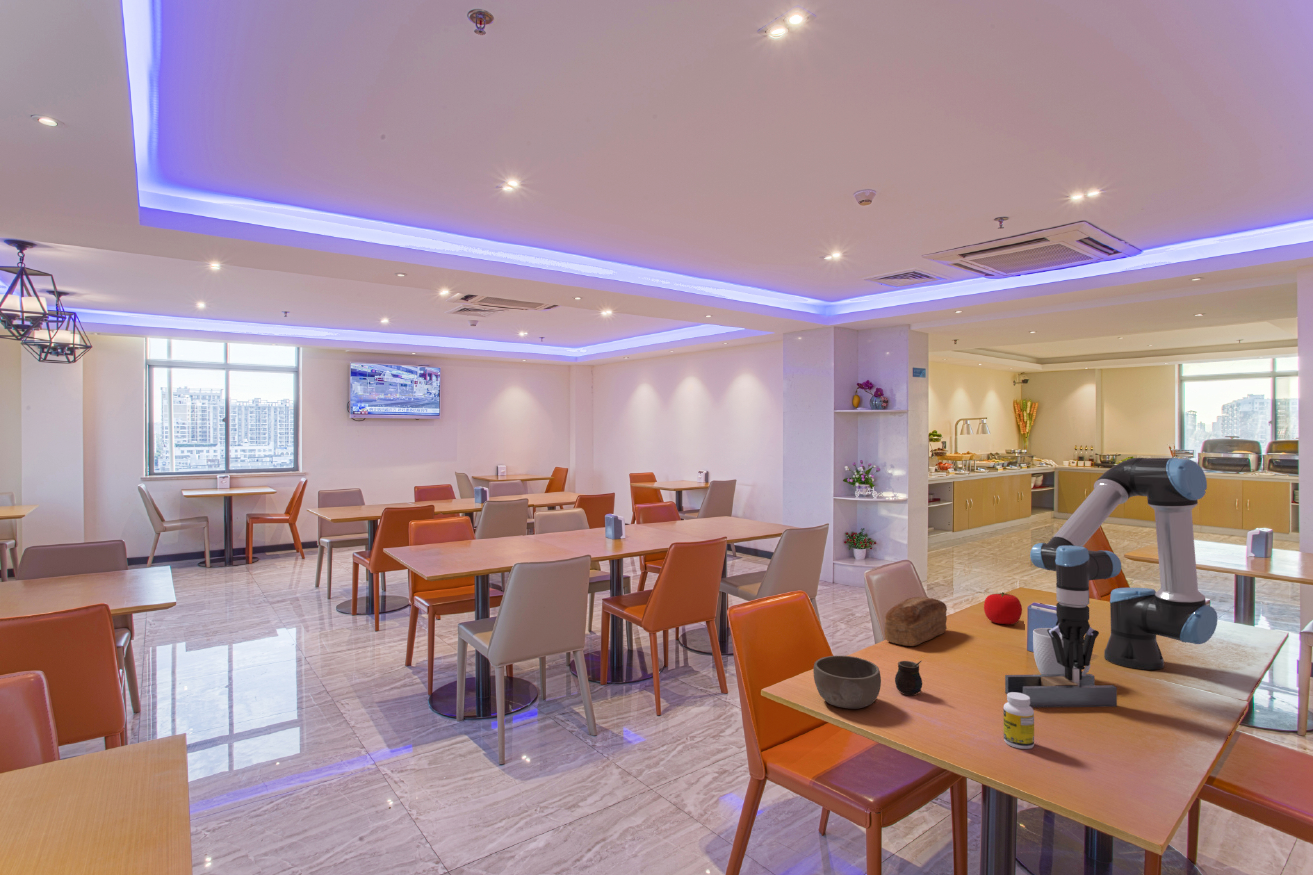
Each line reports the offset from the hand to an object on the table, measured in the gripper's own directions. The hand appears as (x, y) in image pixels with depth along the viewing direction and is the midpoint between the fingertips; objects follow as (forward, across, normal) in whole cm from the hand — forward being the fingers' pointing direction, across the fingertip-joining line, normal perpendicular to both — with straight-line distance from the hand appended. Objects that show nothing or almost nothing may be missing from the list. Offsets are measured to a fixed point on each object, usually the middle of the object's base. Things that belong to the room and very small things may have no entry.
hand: (1073, 691), depth 177 cm
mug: (+2, -6, -16) cm, 17 cm away
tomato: (+2, -22, -74) cm, 78 cm away
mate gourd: (+2, +42, -6) cm, 43 cm away
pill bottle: (+2, +29, +25) cm, 39 cm away
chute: (+2, +4, 0) cm, 4 cm away
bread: (+3, +18, -58) cm, 61 cm away
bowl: (+3, +62, 0) cm, 62 cm away
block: (+2, +4, 0) cm, 4 cm away
